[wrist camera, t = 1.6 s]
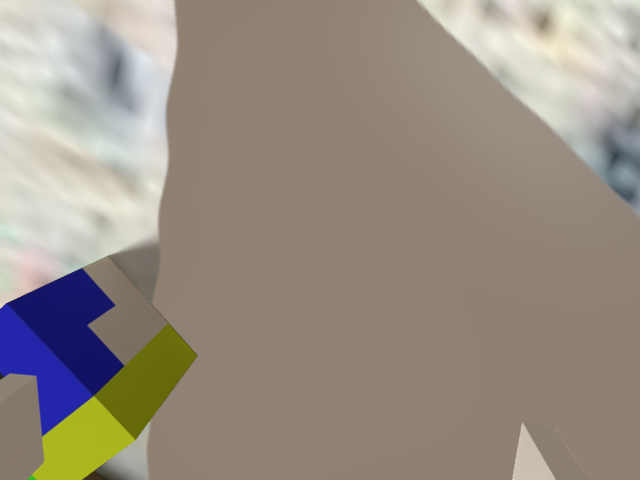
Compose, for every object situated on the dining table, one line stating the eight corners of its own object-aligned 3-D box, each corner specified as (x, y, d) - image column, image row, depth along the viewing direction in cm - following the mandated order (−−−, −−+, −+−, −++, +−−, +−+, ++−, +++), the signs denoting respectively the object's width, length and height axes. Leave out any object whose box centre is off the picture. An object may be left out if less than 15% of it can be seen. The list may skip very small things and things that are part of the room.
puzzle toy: (108, 255, 34) (6, 303, 24) (197, 355, 35) (135, 440, 25) (21, 331, 36) (-106, 404, 26) (108, 423, 37) (18, 526, 27)
